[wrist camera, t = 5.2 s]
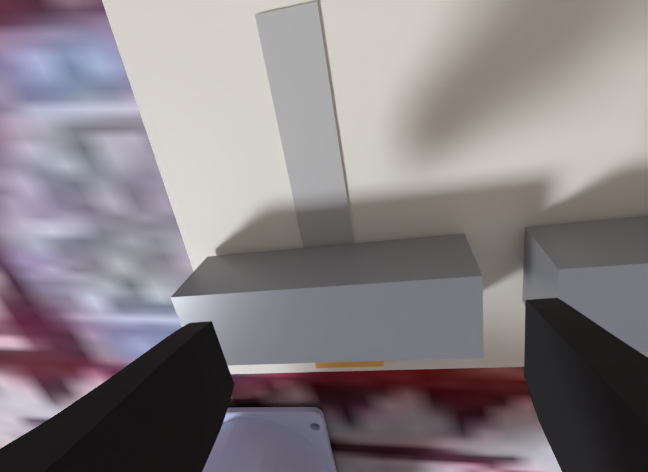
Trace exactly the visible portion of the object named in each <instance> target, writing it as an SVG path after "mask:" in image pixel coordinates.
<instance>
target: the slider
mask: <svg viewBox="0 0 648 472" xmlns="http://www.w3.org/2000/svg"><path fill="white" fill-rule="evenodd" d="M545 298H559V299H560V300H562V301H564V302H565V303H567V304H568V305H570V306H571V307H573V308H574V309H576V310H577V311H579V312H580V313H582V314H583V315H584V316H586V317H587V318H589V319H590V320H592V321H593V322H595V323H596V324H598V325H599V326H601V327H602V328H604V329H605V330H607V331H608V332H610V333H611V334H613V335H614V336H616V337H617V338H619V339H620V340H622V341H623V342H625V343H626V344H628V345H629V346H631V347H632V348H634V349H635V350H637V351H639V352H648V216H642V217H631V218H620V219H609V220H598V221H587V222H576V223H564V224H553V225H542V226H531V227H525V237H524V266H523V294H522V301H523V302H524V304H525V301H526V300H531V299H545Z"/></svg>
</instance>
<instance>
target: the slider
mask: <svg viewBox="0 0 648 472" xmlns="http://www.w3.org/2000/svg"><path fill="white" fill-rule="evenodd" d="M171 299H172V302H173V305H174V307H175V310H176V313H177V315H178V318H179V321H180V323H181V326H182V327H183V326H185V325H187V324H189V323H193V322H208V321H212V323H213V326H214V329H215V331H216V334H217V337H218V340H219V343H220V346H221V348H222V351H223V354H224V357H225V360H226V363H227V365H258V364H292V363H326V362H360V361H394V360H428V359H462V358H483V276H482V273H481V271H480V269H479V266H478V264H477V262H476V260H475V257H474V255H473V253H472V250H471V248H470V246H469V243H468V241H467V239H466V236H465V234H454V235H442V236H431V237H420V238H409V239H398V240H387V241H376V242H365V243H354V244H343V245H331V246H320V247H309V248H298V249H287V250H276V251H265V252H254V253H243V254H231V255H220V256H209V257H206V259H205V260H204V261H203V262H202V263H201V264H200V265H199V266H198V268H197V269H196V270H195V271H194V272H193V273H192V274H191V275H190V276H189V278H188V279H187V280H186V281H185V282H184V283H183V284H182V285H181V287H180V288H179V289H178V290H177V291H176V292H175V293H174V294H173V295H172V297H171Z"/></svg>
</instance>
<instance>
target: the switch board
mask: <svg viewBox="0 0 648 472" xmlns="http://www.w3.org/2000/svg"><path fill="white" fill-rule="evenodd" d="M102 2H103V5H104V8H105V11H106V14H107V17H108V20H109V23H110V25H111V28H112V31H113V34H114V37H115V40H116V43H117V46H118V49H119V52H120V55H121V58H122V61H123V64H124V67H125V70H126V73H127V76H128V79H129V82H130V85H131V88H132V90H133V93H134V96H135V99H136V102H137V105H138V108H139V111H140V114H141V117H142V120H143V123H144V126H145V129H146V132H147V135H148V138H149V141H150V144H151V147H152V150H153V153H154V156H155V158H156V161H157V164H158V167H159V170H160V173H161V176H162V179H163V182H164V185H165V188H166V191H167V194H168V197H169V200H170V203H171V206H172V209H173V212H174V215H175V218H176V221H177V224H178V226H179V229H180V232H181V235H182V238H183V241H184V244H185V247H186V250H187V253H188V256H189V259H190V262H191V265H192V268H193V271H195V270H196V269H197V268H198V266H199V265H200V264H201V263H202V262H203V261H204V260H205V259H206V257H209V256H220V255H231V254H243V253H254V252H265V251H276V250H287V249H298V248H309V247H320V246H331V245H343V244H354V243H365V242H376V241H387V240H398V239H409V238H420V237H431V236H442V235H454V234H465V236H466V239H467V241H468V243H469V246H470V248H471V250H472V253H473V255H474V257H475V260H476V262H477V264H478V266H479V269H480V271H481V273H482V276H483V358H462V359H428V360H394V361H360V362H326V363H292V364H258V365H228V368H229V371H230V374H253V373H294V372H334V371H375V370H415V369H455V368H496V367H524V352H525V304H524V302H523V301H522V294H523V266H524V237H525V227H531V226H542V225H553V224H564V223H576V222H587V221H598V220H609V219H620V218H631V217H642V216H648V0H102ZM640 353H642V354H643V355H645V356H646V357H648V352H640Z"/></svg>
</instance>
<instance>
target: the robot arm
mask: <svg viewBox="0 0 648 472" xmlns="http://www.w3.org/2000/svg"><path fill="white" fill-rule="evenodd" d="M524 377H525V380H526V383H527V386H528V389H529V392H530V395H531V399H532V402H533V405H534V408H535V410H536V413H537V416H538V419H539V422H540V424H541V426H542V429H543V431H544V433H545V435H546V437H547V440H548V442H549V444H550V446H551V448H552V451H553V453H554V455H555V457H556V459H557V461H558V464H559V466H560V468H561V470H562V472H648V357H646V356H645V355H643V354H642V353H640V352H639V351H637V350H635V349H634V348H632V347H631V346H629V345H628V344H626V343H625V342H623V341H622V340H620V339H619V338H617V337H616V336H614V335H613V334H611V333H610V332H608V331H607V330H605V329H604V328H602V327H601V326H599V325H598V324H596V323H595V322H593V321H592V320H590V319H589V318H587V317H586V316H584V315H583V314H582V313H580V312H579V311H577V310H576V309H574V308H573V307H571V306H570V305H568V304H567V303H565V302H564V301H562V300H560V299H559V298H545V299H531V300H526V301H525V352H524ZM233 387H234V382H233V380H232V377H231V374H230V371H229V368H228V365H227V363H226V360H225V357H224V354H223V351H222V348H221V346H220V343H219V340H218V337H217V334H216V331H215V329H214V326H213V323H212V321H208V322H193V323H189V324H187V325H185V326H183V327H182V328H180V329H179V330H177V331H176V332H174V333H173V334H171V335H170V336H168V337H167V338H165V339H164V340H162V341H161V342H160V343H158V344H157V345H155V346H154V347H153V348H151V349H150V350H148V351H147V352H146V353H144V354H143V355H142V356H140V357H139V358H137V359H136V360H135V361H133V362H132V363H130V364H129V365H128V366H126V367H125V368H124V369H122V370H121V371H119V372H118V373H117V374H115V375H114V376H112V377H111V378H110V379H108V380H107V381H105V382H104V383H102V384H101V385H99V386H98V387H97V388H95V389H94V390H92V391H91V392H89V393H88V394H86V395H85V396H83V397H82V398H80V399H79V400H77V401H76V402H74V403H73V404H72V405H70V406H69V407H67V408H66V409H64V410H63V411H61V412H60V413H58V414H57V415H55V416H53V417H52V418H50V419H49V420H47V421H46V422H44V423H42V424H41V425H39V426H38V427H36V428H34V429H33V430H31V431H29V432H28V433H26V434H24V435H23V436H21V437H19V438H18V439H16V440H14V441H13V442H11V443H9V444H8V445H6V446H4V447H3V448H1V449H0V472H337V471H336V466H335V462H334V457H333V453H332V449H331V444H330V440H329V436H328V431H327V427H326V422H325V418H324V414H323V412H322V411H321V410H320V409H319V408H316V407H228V405H229V402H230V398H231V394H232V391H233ZM314 423H316V424H314Z"/></svg>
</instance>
